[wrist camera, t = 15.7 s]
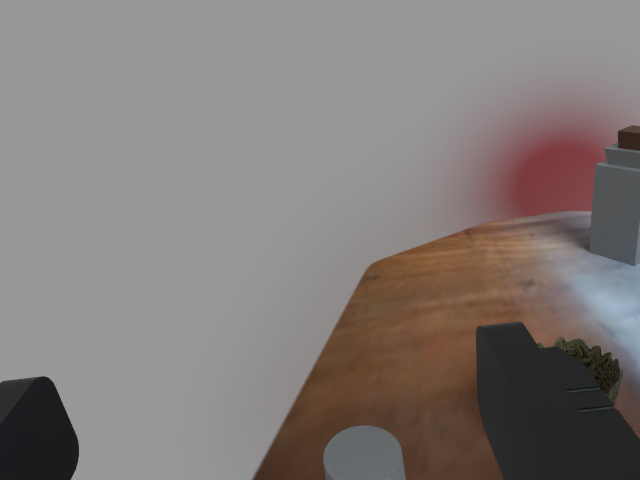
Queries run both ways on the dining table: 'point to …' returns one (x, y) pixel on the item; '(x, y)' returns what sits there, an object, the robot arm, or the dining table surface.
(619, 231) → the perfume bottle
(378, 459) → the container
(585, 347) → the cup
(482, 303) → the dining table surface
